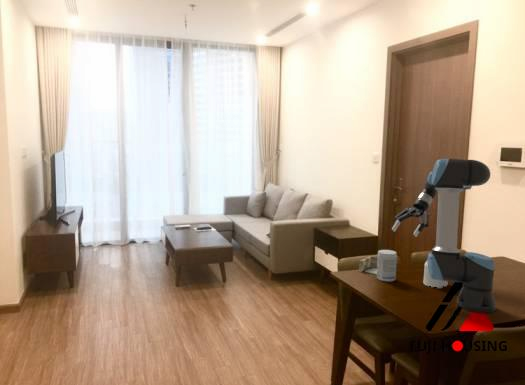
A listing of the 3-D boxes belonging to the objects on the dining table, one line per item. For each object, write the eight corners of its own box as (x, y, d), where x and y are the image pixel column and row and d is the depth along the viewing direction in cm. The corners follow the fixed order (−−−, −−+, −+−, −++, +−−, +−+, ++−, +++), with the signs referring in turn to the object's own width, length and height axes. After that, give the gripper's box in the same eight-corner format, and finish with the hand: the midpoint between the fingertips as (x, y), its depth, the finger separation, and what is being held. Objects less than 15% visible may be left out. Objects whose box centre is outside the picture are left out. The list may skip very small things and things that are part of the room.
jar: (437, 289, 207) (440, 259, 206) (420, 283, 215) (422, 255, 213) (450, 285, 214) (452, 256, 213) (432, 279, 222) (434, 252, 220)
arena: (382, 276, 224) (382, 266, 224) (358, 271, 233) (359, 260, 232) (393, 271, 235) (393, 260, 235) (370, 266, 244) (371, 255, 243)
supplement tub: (398, 279, 221) (400, 252, 219) (389, 283, 214) (391, 255, 212) (382, 275, 228) (384, 248, 226) (372, 278, 221) (374, 251, 219)
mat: (381, 275, 226) (381, 275, 226) (364, 271, 233) (364, 271, 233) (389, 271, 234) (389, 271, 234) (372, 267, 240) (372, 267, 240)
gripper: (446, 211, 224) (427, 242, 217) (406, 204, 244) (387, 232, 237) (441, 201, 220) (421, 233, 213) (400, 195, 240) (381, 224, 233)
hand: (403, 233), depth 225 cm, fingers open, 13 cm apart
